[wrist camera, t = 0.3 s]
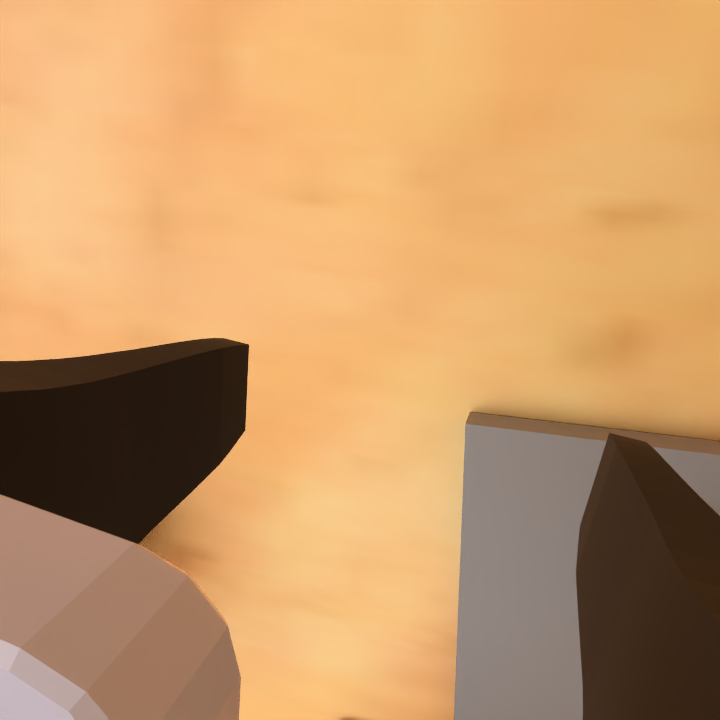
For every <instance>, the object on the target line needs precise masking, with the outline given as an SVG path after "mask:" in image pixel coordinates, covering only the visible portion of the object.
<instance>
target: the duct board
mask: <svg viewBox="0 0 720 720" xmlns="http://www.w3.org/2000/svg"><path fill="white" fill-rule="evenodd" d="M609 433H612V434H616V435H620V436H624V437H628V438H633V439H637V440H641V441H645V442H647V443H648V444H649V445H650V446H651V447H653V448H654V449H655V450H656V451H657V452H658V453H659V454H660V455H661V456H662V458H663V459H664V460H665V461H666V462H667V463H668V464H669V465H670V466H671V467H672V468H673V469H674V470H675V471H676V472H677V473H678V474H679V476H680V477H681V478H682V479H683V480H684V481H685V482H686V483H687V484H688V485H689V486H690V487H691V488H692V489H693V490H694V491H695V492H696V493H697V494H698V495H699V496H700V497H701V498H702V499H703V500H704V501H705V502H706V503H707V504H708V505H709V506H710V507H711V508H712V509H713V510H714V511H715V512H716V513H717V514H718V515H719V516H720V441H714V440H705V439H697V438H688V437H680V436H671V435H662V434H654V433H645V432H637V431H628V430H620V429H611V428H603V427H594V426H586V425H577V424H568V423H560V422H551V421H543V420H534V419H526V418H517V417H509V416H500V415H491V414H483V413H474V412H470V414H469V416H468V419H467V422H466V427H465V453H464V478H463V504H462V529H461V555H460V580H459V606H458V631H457V657H456V682H455V707H454V720H583V683H582V667H581V651H580V635H579V620H578V603H577V585H576V564H577V551H578V540H579V530H580V524H581V521H582V518H583V514H584V511H585V508H586V505H587V502H588V499H589V495H590V492H591V489H592V486H593V483H594V480H595V476H596V473H597V470H598V467H599V464H600V460H601V457H602V454H603V451H604V448H605V445H606V441H607V438H608V435H609Z"/></svg>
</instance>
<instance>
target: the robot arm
mask: <svg viewBox="0 0 720 720" xmlns="http://www.w3.org/2000/svg"><path fill="white" fill-rule="evenodd" d="M248 353H249V345H248V344H244V343H240V342H236V341H232V340H228V339H224V338H209V339H199V340H191V341H184V342H177V343H171V344H165V345H159V346H153V347H146V348H140V349H134V350H127V351H120V352H113V353H106V354H98V355H91V356H83V357H74V358H63V359H50V360H34V361H0V720H239V702H240V682H241V677H240V673H239V669H238V665H237V661H236V657H235V653H234V649H233V645H232V641H231V637H230V633H229V629H228V626H227V623H226V621H225V618H224V617H223V616H222V614H221V613H220V612H219V611H218V609H217V608H216V607H215V606H214V604H213V603H212V602H211V601H210V599H209V598H208V597H207V596H206V594H205V593H204V592H203V590H202V589H201V588H200V587H199V585H198V584H197V583H196V582H195V580H194V579H193V578H192V577H191V575H190V574H188V573H187V572H185V571H183V570H182V569H180V568H178V567H177V566H175V565H173V564H172V563H170V562H169V561H167V560H165V559H164V558H162V557H160V556H159V555H157V554H155V553H154V552H152V551H150V550H149V549H147V548H145V547H144V546H142V545H139V543H140V542H141V541H142V540H143V539H144V537H145V536H146V535H147V534H148V533H149V532H150V531H151V530H152V529H153V528H154V527H155V526H156V525H158V524H159V523H160V522H161V521H162V520H163V519H164V518H165V517H166V516H167V515H168V514H169V513H170V512H171V511H172V510H173V509H174V508H175V507H176V506H177V505H178V504H179V503H180V502H181V501H183V500H184V499H185V498H186V497H187V496H188V495H189V494H190V493H191V492H192V491H193V490H194V489H195V488H196V487H197V486H198V485H199V484H200V483H201V482H202V481H203V480H204V479H205V478H206V477H207V476H208V475H209V474H210V473H211V472H212V471H213V470H214V469H215V468H216V467H217V466H218V465H219V464H220V463H221V462H222V461H223V459H224V458H225V457H226V456H227V454H228V453H229V452H230V450H231V449H232V448H233V446H234V445H235V444H236V442H237V441H238V439H239V438H240V437H241V435H242V434H243V432H244V431H245V422H246V399H247V376H248ZM576 585H577V603H578V620H579V635H580V651H581V667H582V683H583V720H720V516H719V515H718V514H717V513H716V512H715V511H714V510H713V509H712V508H711V507H710V506H709V505H708V504H707V503H706V502H705V501H704V500H703V499H702V498H701V497H700V496H699V495H698V494H697V493H696V492H695V491H694V490H693V489H692V488H691V487H690V486H689V485H688V484H687V483H686V482H685V481H684V480H683V479H682V478H681V477H680V476H679V474H678V473H677V472H676V471H675V470H674V469H673V468H672V467H671V466H670V465H669V464H668V463H667V462H666V461H665V460H664V459H663V458H662V456H661V455H660V454H659V453H658V452H657V451H656V450H655V449H654V448H653V447H651V446H650V445H649V444H648V443H647V442H645V441H641V440H637V439H633V438H628V437H624V436H620V435H616V434H612V433H609V435H608V438H607V441H606V445H605V448H604V451H603V454H602V457H601V460H600V464H599V467H598V470H597V473H596V476H595V480H594V483H593V486H592V489H591V492H590V495H589V499H588V502H587V505H586V508H585V511H584V514H583V518H582V521H581V524H580V530H579V540H578V551H577V564H576Z"/></svg>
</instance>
